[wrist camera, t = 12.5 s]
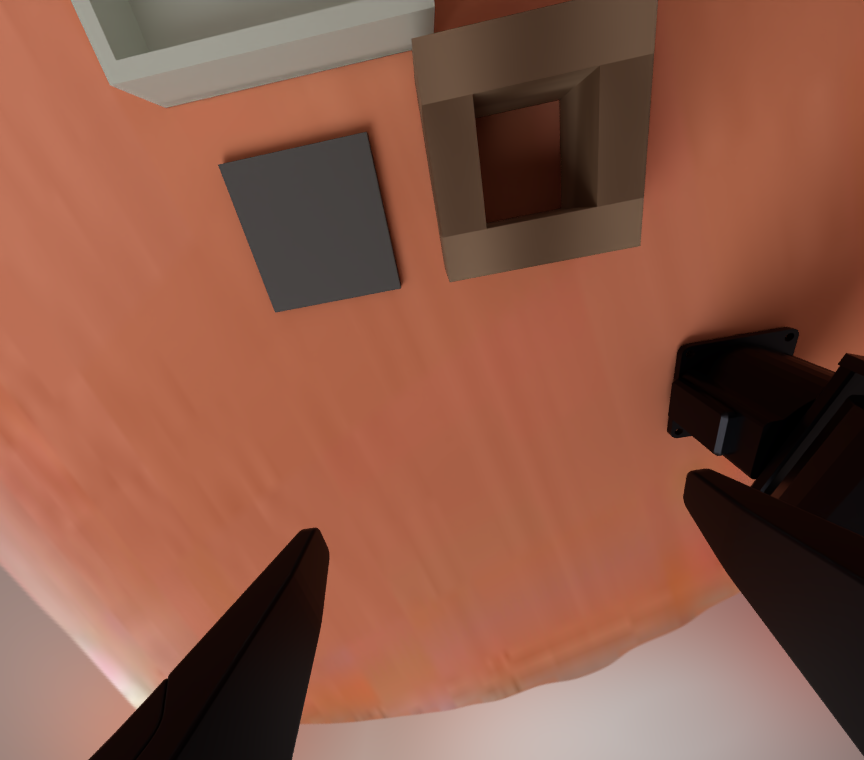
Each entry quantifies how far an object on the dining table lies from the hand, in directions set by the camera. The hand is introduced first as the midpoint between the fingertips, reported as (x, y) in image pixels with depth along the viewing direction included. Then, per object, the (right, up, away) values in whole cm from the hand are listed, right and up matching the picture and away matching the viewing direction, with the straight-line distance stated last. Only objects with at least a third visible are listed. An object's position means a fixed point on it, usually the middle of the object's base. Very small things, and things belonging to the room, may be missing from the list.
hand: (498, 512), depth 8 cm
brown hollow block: (+2, +13, +8) cm, 16 cm away
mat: (-7, +11, +9) cm, 16 cm away
